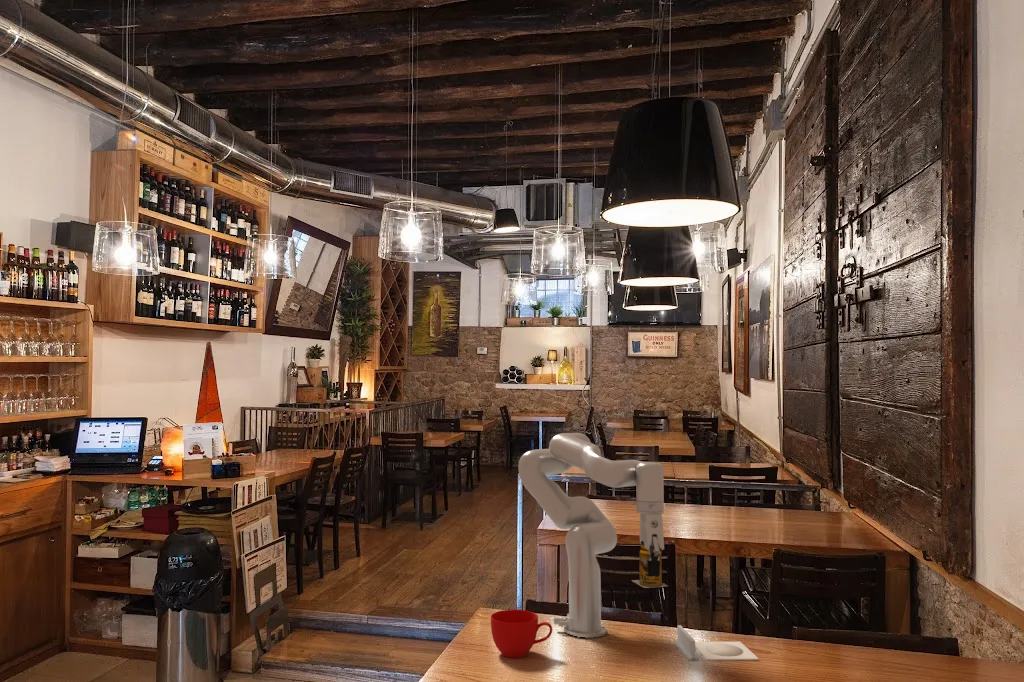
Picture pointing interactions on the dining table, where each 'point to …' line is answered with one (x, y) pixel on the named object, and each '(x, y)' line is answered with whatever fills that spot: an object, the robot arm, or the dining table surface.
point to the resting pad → (724, 651)
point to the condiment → (644, 578)
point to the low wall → (686, 644)
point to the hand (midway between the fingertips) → (650, 572)
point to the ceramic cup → (516, 632)
